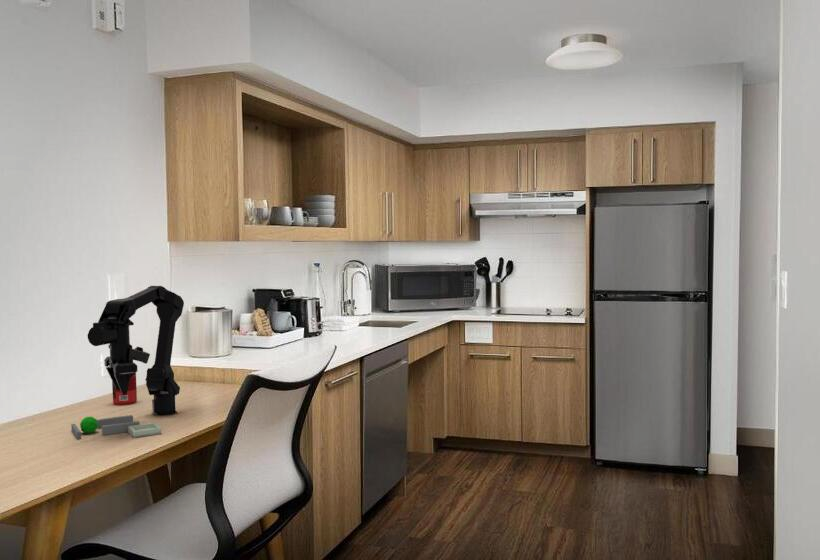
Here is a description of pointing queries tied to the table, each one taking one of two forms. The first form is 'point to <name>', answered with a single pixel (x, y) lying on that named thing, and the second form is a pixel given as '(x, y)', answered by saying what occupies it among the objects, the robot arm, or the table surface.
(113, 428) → the channel
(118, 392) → the canned food
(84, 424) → the polyhedron
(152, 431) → the dish
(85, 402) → the table surface
